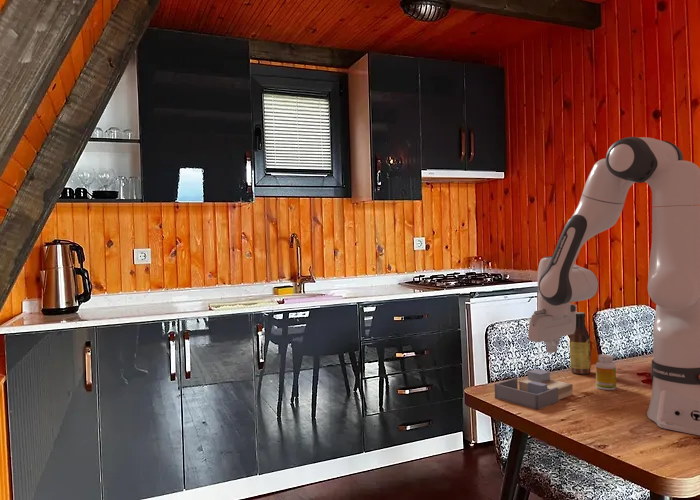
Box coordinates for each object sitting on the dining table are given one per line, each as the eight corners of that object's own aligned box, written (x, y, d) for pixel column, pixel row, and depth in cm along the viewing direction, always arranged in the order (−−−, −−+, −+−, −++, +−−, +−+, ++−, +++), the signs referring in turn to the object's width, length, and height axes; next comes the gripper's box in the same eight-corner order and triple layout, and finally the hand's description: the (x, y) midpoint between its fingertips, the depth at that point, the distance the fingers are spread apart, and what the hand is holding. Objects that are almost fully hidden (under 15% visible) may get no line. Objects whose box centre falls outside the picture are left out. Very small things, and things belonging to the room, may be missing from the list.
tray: (558, 401, 149) (558, 387, 149) (537, 409, 143) (537, 395, 143) (515, 390, 160) (515, 377, 160) (494, 397, 154) (494, 384, 154)
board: (572, 394, 155) (572, 384, 155) (555, 400, 150) (555, 390, 150) (536, 385, 165) (536, 375, 165) (519, 391, 160) (519, 381, 160)
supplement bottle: (617, 391, 157) (616, 358, 157) (597, 389, 159) (596, 357, 158) (614, 385, 162) (614, 353, 162) (595, 384, 164) (594, 353, 163)
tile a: (547, 384, 149) (542, 386, 148) (547, 400, 149) (542, 402, 148) (533, 380, 153) (527, 382, 151) (533, 396, 153) (528, 398, 151)
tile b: (550, 379, 160) (549, 371, 160) (541, 382, 157) (541, 374, 157) (536, 376, 164) (536, 368, 163) (527, 379, 161) (527, 371, 161)
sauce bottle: (594, 374, 174) (593, 314, 173) (574, 375, 174) (573, 314, 174) (585, 369, 181) (584, 311, 180) (567, 370, 181) (566, 311, 180)
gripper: (541, 312, 156) (541, 359, 157) (580, 305, 168) (579, 349, 169) (523, 310, 161) (522, 355, 162) (561, 303, 173) (561, 345, 174)
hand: (552, 352), depth 165 cm, fingers closed
